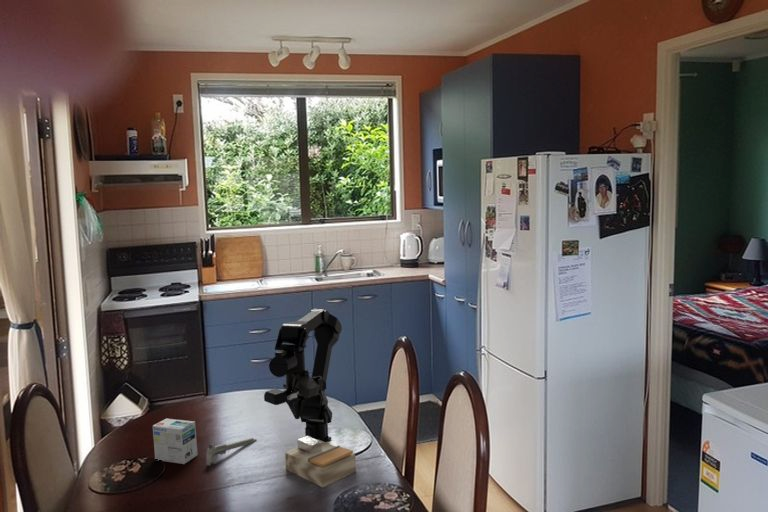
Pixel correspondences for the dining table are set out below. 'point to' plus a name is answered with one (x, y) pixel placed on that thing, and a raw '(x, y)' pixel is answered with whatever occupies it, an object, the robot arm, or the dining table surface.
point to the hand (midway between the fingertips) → (297, 418)
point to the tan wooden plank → (330, 456)
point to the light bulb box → (175, 440)
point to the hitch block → (316, 473)
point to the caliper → (224, 449)
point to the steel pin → (309, 445)
